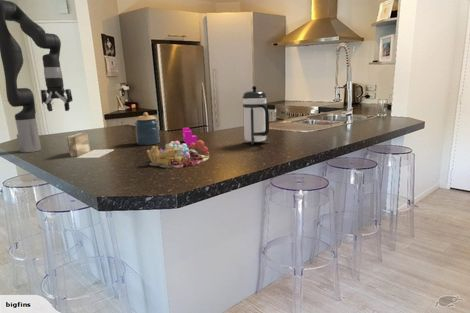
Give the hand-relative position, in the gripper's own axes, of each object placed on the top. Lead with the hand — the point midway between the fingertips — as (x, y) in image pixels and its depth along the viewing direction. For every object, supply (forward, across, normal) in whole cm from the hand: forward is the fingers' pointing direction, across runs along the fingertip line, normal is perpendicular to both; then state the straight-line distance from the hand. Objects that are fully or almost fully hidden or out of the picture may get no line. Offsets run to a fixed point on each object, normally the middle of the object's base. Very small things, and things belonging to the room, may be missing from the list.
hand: (58, 110), depth 164 cm
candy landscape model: (+22, +63, -19) cm, 69 cm away
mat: (+22, +17, -1) cm, 27 cm away
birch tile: (+22, +8, 0) cm, 23 cm away
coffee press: (+21, +97, +17) cm, 101 cm away
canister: (+22, +35, +24) cm, 48 cm away
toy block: (+22, +59, +24) cm, 68 cm away
